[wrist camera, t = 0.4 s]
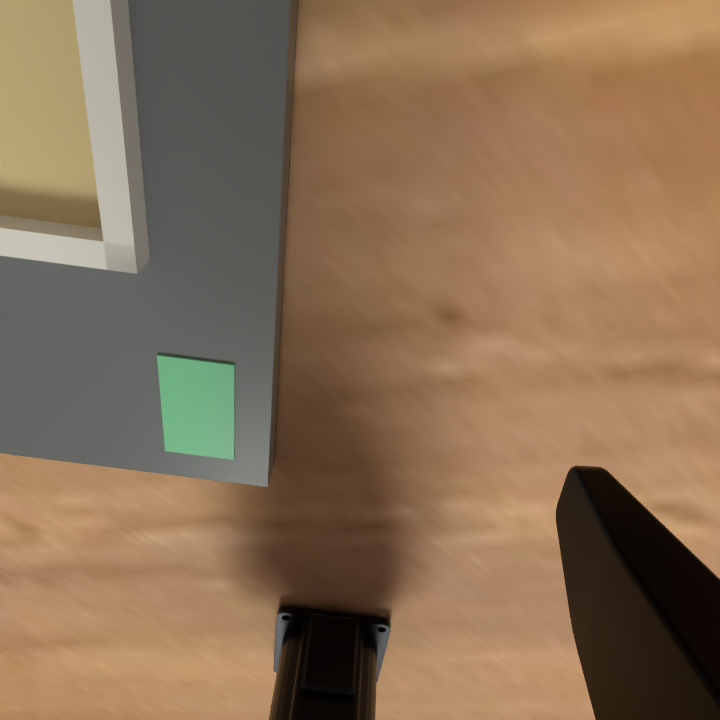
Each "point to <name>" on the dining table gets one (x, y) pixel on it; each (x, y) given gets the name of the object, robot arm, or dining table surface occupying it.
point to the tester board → (144, 231)
